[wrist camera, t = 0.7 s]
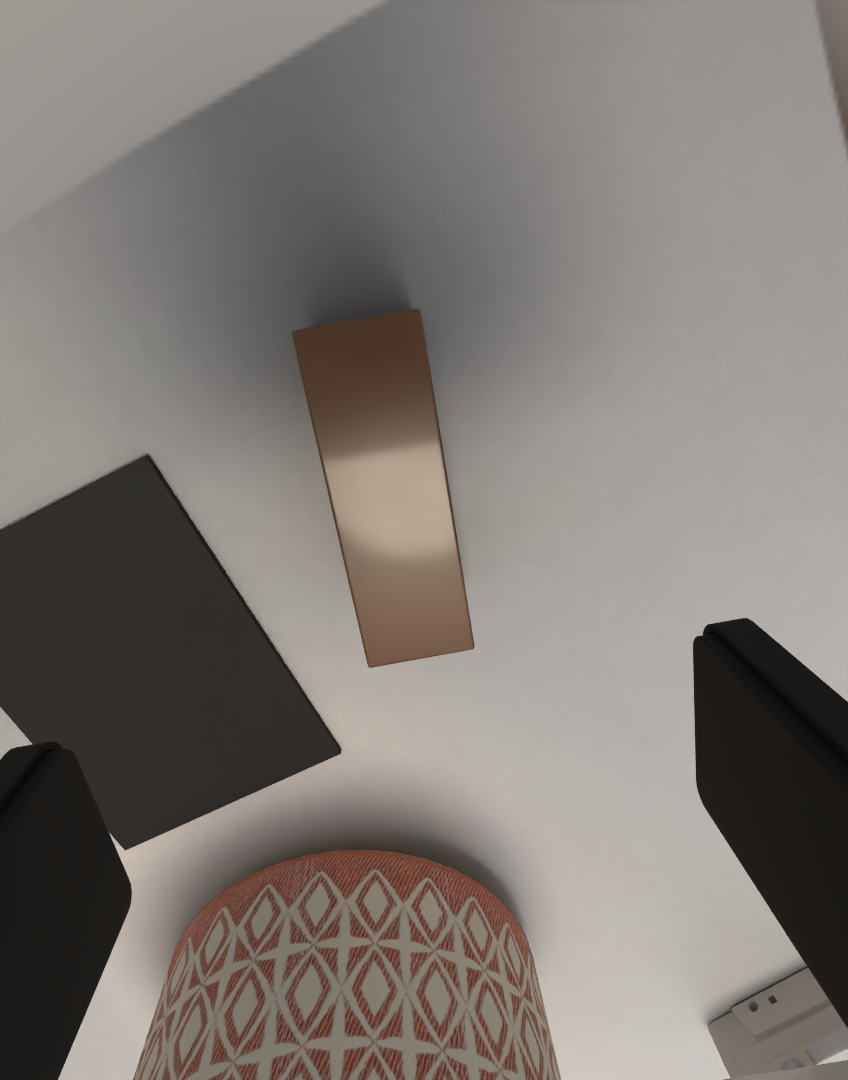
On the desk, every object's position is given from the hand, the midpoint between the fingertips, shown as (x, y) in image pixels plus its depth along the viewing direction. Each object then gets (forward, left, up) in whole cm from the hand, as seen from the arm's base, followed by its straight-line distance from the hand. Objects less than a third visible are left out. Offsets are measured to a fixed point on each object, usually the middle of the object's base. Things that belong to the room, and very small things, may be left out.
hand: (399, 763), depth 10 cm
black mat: (+7, -13, -18) cm, 23 cm away
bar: (0, 0, -18) cm, 18 cm away
